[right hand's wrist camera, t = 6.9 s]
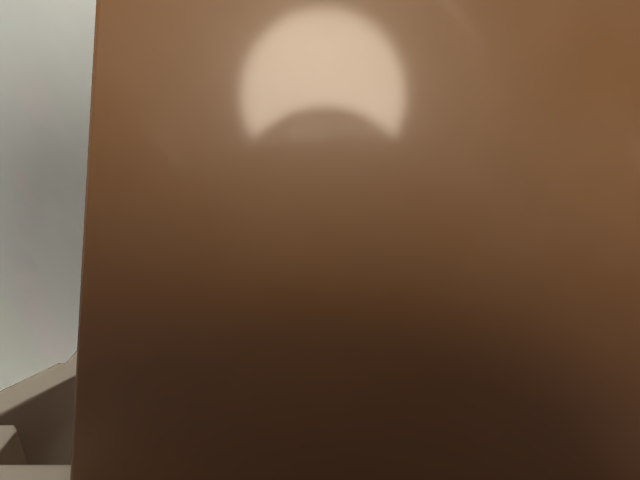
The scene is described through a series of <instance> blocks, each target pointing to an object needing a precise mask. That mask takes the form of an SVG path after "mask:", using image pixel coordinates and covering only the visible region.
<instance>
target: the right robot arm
mask: <svg viewBox="0 0 640 480" xmlns="http://www.w3.org/2000/svg"><path fill="white" fill-rule="evenodd" d="M76 364H77V351H76V352H75V353H74V355H73V356H72V357H71V358H70V359H69V360H68V361H67V363H66V364H57V365H54V366H52V367H50V368H48V369H46V370H44V371H42V372H40V373H38V374H36V375H33V376H31V377H29V378H27V379H25V380H23V381H21V382H19V383H17V384H14V385H12V386H10V387H8V388H6V389H4V390H2V391H0V480H70V473H71V455H72V437H73V419H74V401H75V382H76Z"/></svg>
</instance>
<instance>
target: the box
mask: <svg viewBox="0 0 640 480" xmlns="http://www.w3.org/2000/svg"><path fill="white" fill-rule="evenodd" d="M70 480H640V0H96V19H95V37H94V55H93V73H92V91H91V110H90V128H89V146H88V164H87V182H86V201H85V219H84V237H83V255H82V273H81V291H80V310H79V328H78V346H77V364H76V382H75V401H74V419H73V437H72V455H71V473H70Z"/></svg>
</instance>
